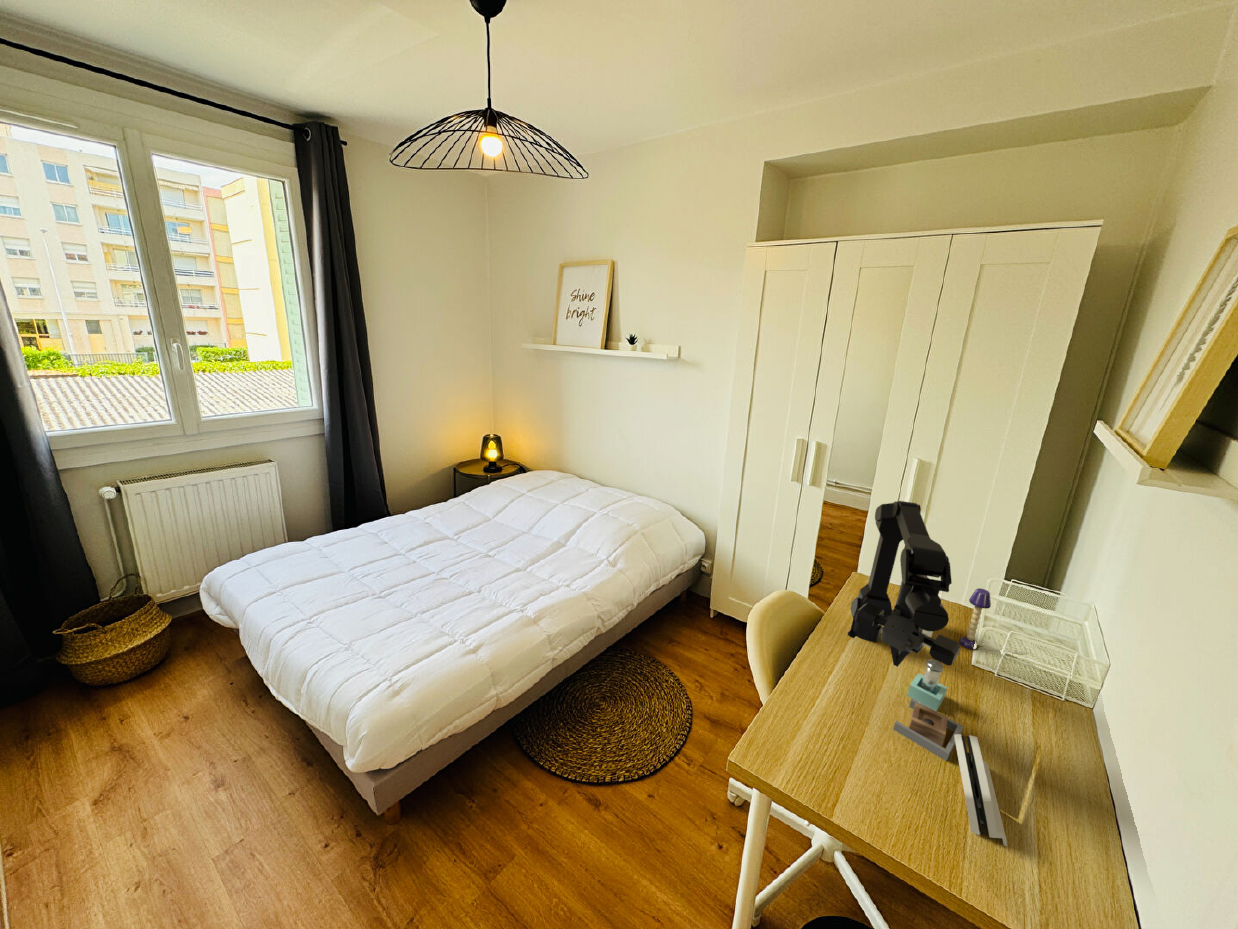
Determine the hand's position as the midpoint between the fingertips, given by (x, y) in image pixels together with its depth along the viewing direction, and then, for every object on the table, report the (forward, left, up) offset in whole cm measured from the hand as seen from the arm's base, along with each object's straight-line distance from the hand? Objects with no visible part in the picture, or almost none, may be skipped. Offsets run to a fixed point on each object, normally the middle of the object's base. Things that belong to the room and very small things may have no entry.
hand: (896, 665), depth 103 cm
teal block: (+5, +11, -12) cm, 17 cm away
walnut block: (+8, 0, -12) cm, 15 cm away
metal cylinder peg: (+5, +11, -11) cm, 17 cm away
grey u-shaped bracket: (+8, 0, -12) cm, 14 cm away
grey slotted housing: (+18, -9, -12) cm, 24 cm away
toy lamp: (+6, +44, -12) cm, 46 cm away
